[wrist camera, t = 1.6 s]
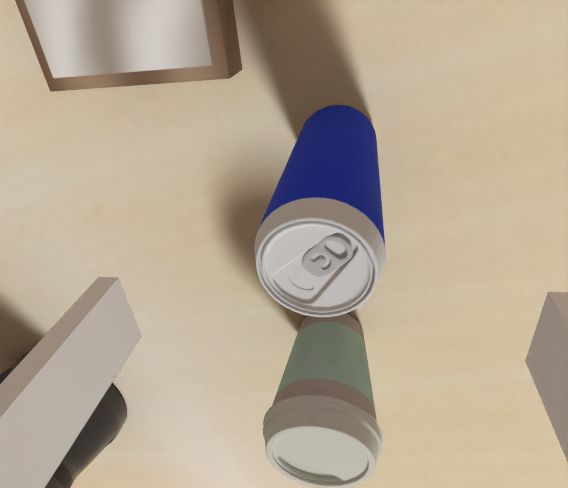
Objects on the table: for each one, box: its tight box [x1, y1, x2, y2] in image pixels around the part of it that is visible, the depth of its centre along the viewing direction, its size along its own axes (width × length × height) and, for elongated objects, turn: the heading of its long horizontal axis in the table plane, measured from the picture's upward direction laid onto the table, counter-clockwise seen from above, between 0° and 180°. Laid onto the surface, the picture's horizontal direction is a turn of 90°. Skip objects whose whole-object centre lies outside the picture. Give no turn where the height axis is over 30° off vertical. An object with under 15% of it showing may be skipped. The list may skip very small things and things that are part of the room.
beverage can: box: [254, 105, 386, 317], centre depth 21 cm, size 5×5×15 cm
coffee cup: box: [263, 313, 383, 488], centre depth 32 cm, size 8×9×12 cm
